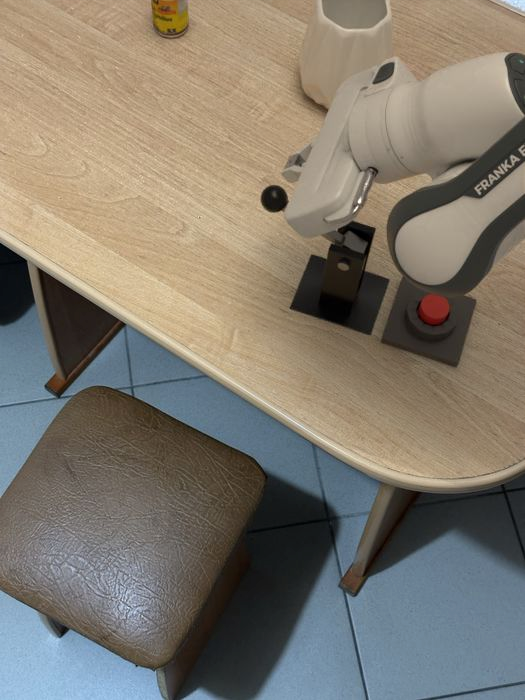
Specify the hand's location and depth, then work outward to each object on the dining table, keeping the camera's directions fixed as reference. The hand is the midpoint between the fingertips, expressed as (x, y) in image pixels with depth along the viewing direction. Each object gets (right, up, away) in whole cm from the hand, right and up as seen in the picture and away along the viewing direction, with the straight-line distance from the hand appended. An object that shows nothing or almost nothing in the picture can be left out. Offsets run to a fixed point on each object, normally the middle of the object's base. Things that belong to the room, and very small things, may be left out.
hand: (289, 168), depth 93 cm
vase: (+9, +20, +35) cm, 42 cm away
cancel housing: (+19, -17, +17) cm, 30 cm away
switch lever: (+2, -6, +7) cm, 10 cm away
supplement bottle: (-17, +31, +40) cm, 54 cm away
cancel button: (+19, -15, +13) cm, 28 cm away
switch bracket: (+7, -13, +18) cm, 24 cm away
